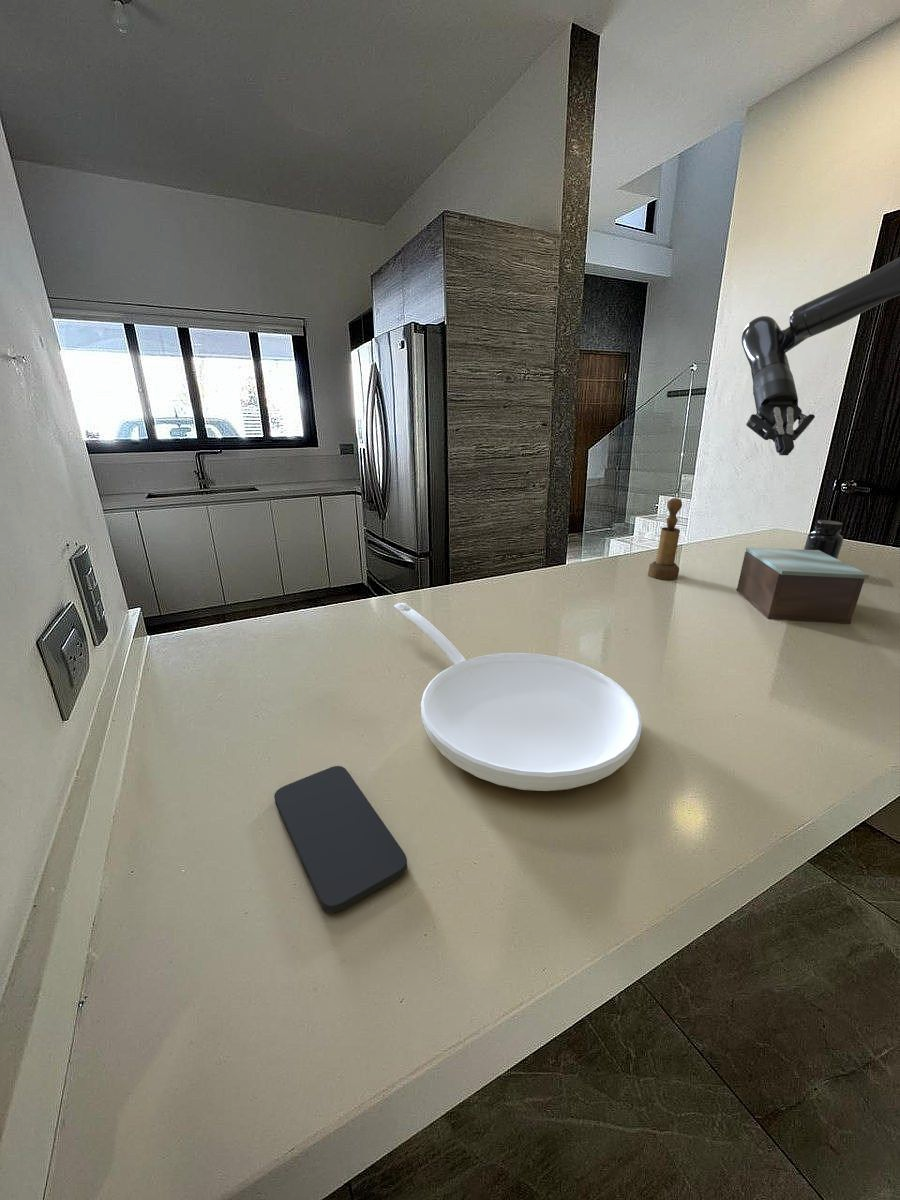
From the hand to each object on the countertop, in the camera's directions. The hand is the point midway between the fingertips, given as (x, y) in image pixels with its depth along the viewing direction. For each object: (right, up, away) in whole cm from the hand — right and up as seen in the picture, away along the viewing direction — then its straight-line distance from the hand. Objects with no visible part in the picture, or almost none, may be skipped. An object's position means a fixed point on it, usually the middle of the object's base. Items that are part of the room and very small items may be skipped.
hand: (786, 452), depth 99 cm
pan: (-66, -43, -34) cm, 86 cm away
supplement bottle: (+19, -24, +17) cm, 34 cm away
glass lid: (-3, -24, -8) cm, 25 cm away
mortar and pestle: (-20, -25, +14) cm, 34 cm away
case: (-3, -32, -5) cm, 32 cm away
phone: (-80, -51, -56) cm, 110 cm away
